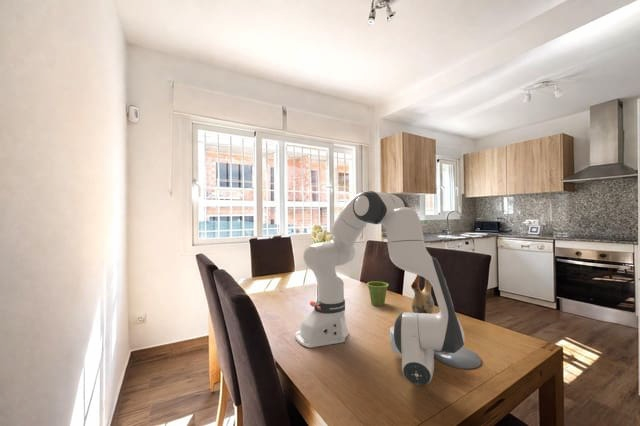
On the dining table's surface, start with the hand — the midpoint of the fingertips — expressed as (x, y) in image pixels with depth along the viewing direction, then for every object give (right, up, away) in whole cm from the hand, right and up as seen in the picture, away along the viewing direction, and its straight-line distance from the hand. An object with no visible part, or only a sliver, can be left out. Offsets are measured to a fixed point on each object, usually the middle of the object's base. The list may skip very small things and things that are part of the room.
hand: (420, 329), depth 97 cm
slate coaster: (+10, -7, -6) cm, 14 cm away
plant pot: (-5, -8, +49) cm, 50 cm away
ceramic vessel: (+12, -7, +28) cm, 31 cm away
